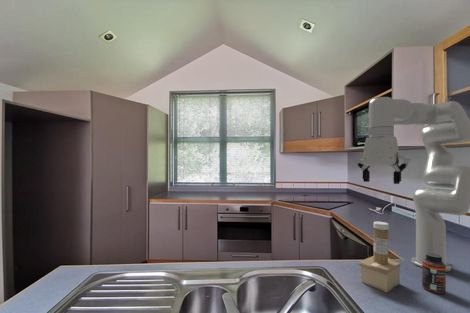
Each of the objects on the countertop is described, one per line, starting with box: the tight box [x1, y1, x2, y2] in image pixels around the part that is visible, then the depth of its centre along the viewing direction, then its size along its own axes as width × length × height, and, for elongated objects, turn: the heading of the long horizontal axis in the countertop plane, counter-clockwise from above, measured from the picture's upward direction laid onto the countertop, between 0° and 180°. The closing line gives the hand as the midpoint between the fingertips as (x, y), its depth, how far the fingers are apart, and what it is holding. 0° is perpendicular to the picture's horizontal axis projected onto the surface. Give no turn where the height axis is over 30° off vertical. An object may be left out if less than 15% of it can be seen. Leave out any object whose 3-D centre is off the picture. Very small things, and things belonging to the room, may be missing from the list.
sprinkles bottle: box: [372, 221, 390, 264], centre depth 83 cm, size 5×5×14 cm
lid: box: [358, 255, 401, 275], centre depth 82 cm, size 12×8×1 cm
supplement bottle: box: [421, 253, 447, 295], centre depth 79 cm, size 6×6×11 cm
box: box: [360, 266, 401, 293], centre depth 82 cm, size 10×8×6 cm
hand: (380, 182), depth 83 cm, fingers open, 9 cm apart
